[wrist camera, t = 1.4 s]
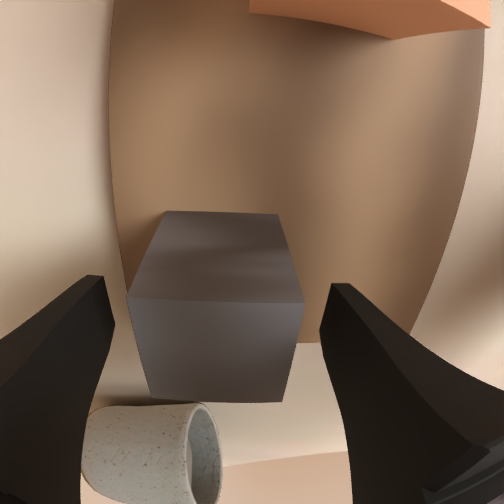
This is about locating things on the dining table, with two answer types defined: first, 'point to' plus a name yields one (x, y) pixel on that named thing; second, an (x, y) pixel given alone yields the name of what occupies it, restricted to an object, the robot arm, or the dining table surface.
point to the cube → (385, 14)
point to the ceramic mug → (153, 454)
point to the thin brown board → (276, 181)
